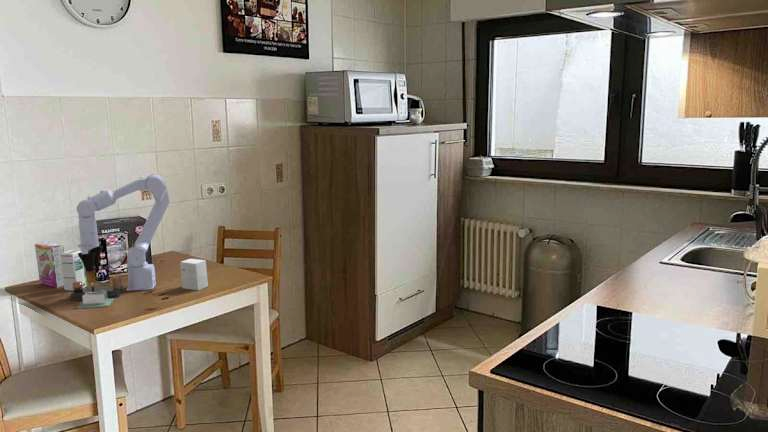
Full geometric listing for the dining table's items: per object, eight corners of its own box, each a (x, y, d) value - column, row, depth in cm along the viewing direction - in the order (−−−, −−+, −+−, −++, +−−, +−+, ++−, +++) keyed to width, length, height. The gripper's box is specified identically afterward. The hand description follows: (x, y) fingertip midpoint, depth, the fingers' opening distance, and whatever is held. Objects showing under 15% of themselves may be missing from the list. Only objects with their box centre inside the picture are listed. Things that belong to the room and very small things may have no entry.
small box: (208, 286, 223) (206, 260, 221) (198, 290, 218) (196, 263, 216) (192, 284, 226) (190, 258, 225) (181, 288, 221) (179, 261, 220)
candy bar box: (39, 284, 229) (33, 244, 226) (51, 281, 233) (46, 241, 230) (56, 288, 223) (51, 247, 220) (68, 285, 228) (64, 244, 225)
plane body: (123, 291, 219) (121, 273, 217) (118, 297, 212) (117, 278, 211) (77, 294, 216) (75, 276, 214) (71, 300, 209) (69, 281, 208)
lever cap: (107, 300, 207) (106, 289, 206) (105, 303, 203) (103, 292, 202) (86, 301, 206) (85, 290, 205) (83, 305, 202) (82, 294, 201)
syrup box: (77, 291, 220) (73, 253, 217) (63, 290, 221) (59, 253, 219) (87, 286, 225) (83, 250, 223) (74, 285, 227) (70, 249, 224)
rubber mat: (114, 299, 209) (114, 298, 209) (108, 306, 202) (108, 305, 202) (84, 301, 207) (84, 300, 207) (77, 308, 200) (77, 307, 200)
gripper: (82, 229, 219) (86, 264, 222) (70, 237, 205) (74, 274, 208) (102, 228, 221) (106, 263, 223) (92, 236, 207) (95, 273, 209)
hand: (92, 268), depth 216 cm, fingers open, 7 cm apart
